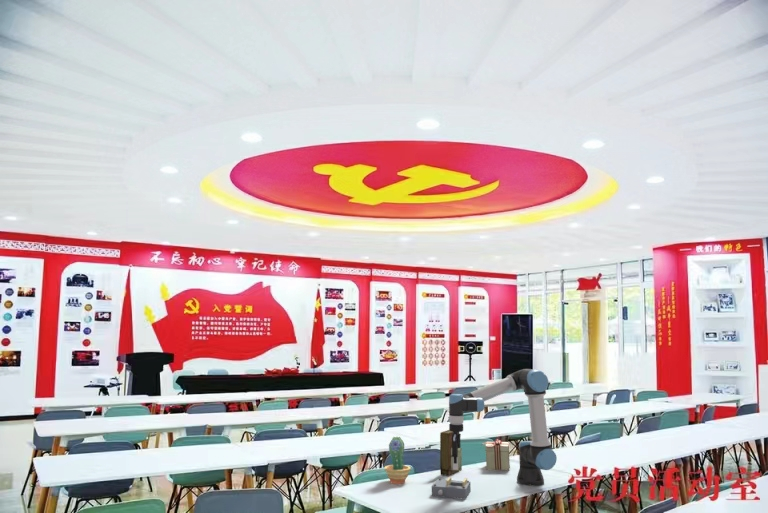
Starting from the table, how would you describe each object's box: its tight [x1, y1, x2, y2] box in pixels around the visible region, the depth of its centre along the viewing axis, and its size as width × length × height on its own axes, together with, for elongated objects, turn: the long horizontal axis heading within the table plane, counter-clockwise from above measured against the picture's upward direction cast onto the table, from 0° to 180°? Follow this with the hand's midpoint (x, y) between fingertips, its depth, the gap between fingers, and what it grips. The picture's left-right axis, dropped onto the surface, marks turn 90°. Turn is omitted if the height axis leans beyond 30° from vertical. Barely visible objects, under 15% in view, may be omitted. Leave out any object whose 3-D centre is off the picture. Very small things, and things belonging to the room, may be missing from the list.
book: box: [439, 429, 460, 477], centre depth 350 cm, size 16×6×25 cm, turn 148°
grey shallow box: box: [431, 476, 472, 500], centre depth 301 cm, size 18×18×8 cm
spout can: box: [451, 448, 463, 472], centre depth 304 cm, size 6×6×14 cm
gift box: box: [480, 438, 511, 471], centre depth 365 cm, size 17×18×17 cm
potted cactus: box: [384, 436, 412, 485], centre depth 328 cm, size 15×15×25 cm
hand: (456, 468), depth 303 cm, fingers closed on spout can, 5 cm apart
